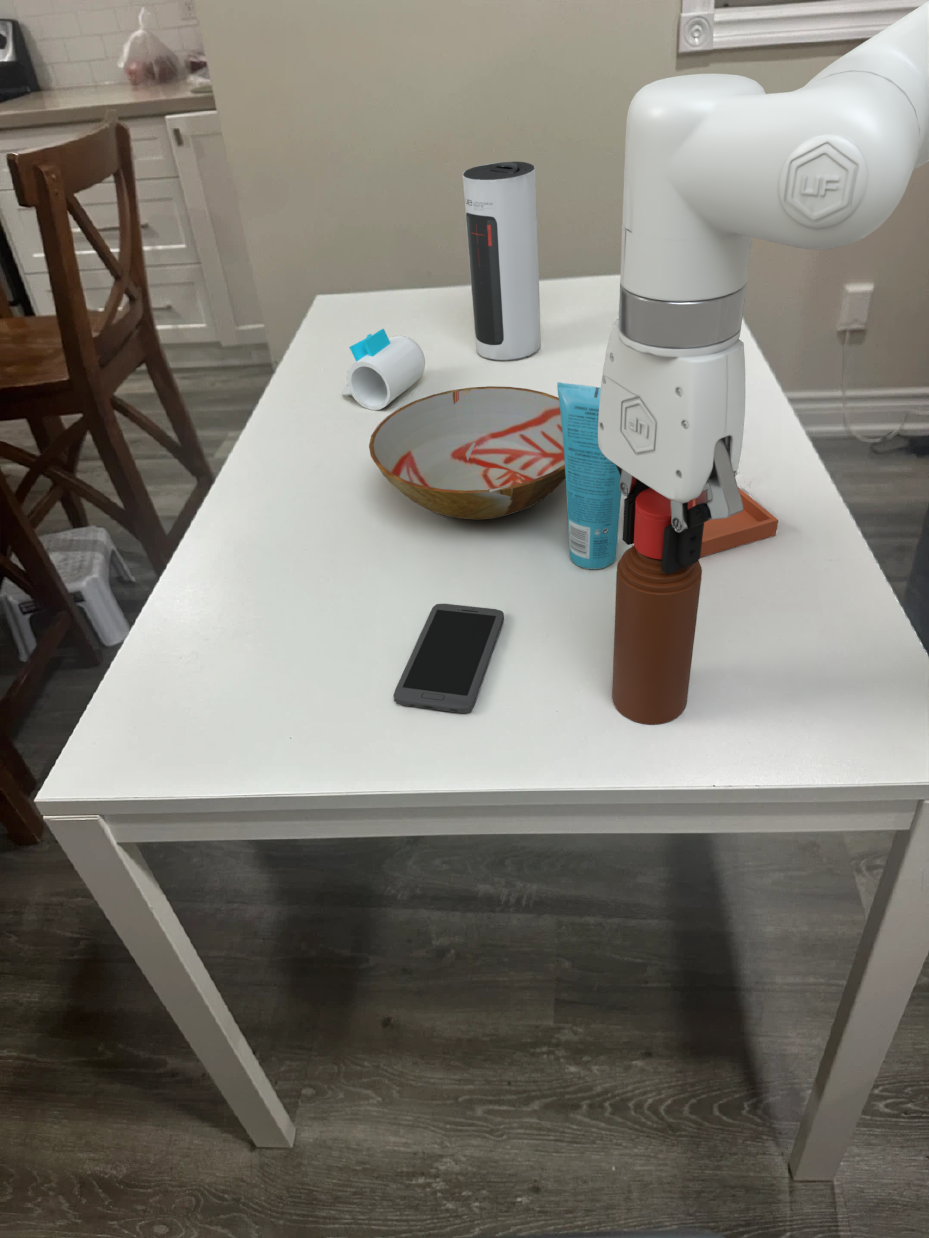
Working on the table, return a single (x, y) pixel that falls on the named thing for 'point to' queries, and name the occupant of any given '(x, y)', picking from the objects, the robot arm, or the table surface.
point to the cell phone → (450, 658)
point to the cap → (651, 522)
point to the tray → (738, 527)
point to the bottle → (653, 637)
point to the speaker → (503, 259)
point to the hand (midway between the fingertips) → (660, 549)
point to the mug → (383, 369)
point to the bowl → (473, 450)
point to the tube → (588, 480)
